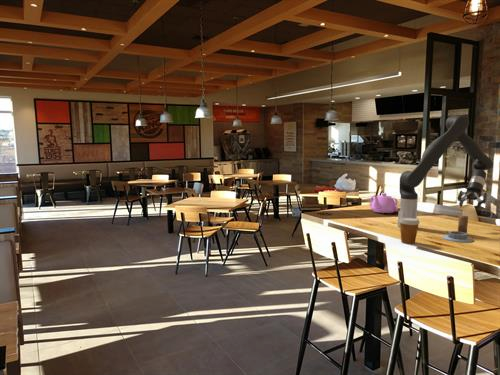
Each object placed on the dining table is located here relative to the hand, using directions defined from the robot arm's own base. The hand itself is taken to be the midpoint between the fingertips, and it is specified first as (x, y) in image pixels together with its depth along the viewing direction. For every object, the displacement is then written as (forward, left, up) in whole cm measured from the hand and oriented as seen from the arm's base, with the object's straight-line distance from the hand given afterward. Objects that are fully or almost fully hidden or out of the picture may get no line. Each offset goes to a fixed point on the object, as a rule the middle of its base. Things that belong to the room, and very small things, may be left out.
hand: (469, 207), depth 218 cm
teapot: (-27, +60, -14) cm, 67 cm away
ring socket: (-16, -18, -14) cm, 28 cm away
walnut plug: (-7, -7, -14) cm, 17 cm away
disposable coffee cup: (-45, -25, -14) cm, 54 cm away
